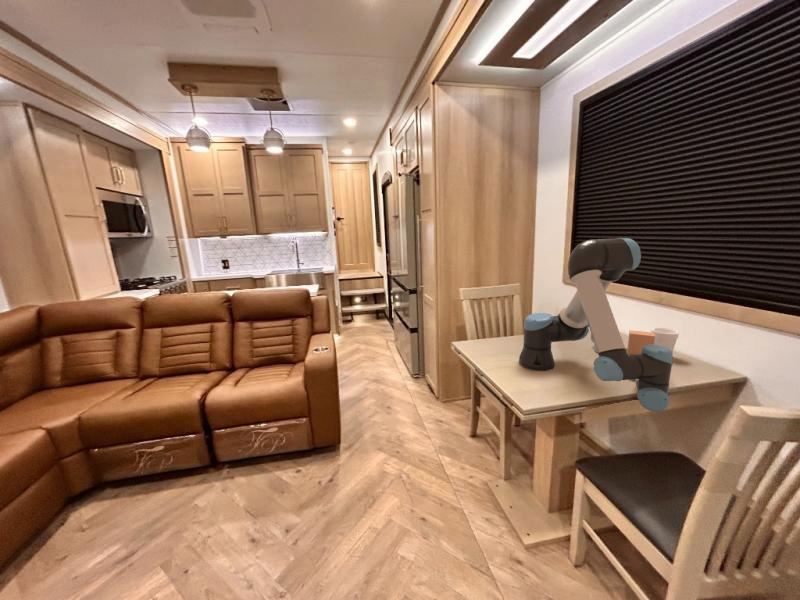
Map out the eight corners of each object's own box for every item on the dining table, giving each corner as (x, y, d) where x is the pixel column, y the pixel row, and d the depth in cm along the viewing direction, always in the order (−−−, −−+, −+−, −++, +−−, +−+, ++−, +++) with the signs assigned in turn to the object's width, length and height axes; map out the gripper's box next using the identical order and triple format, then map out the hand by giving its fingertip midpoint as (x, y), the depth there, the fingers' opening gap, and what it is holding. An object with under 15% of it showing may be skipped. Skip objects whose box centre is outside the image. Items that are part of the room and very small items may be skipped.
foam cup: (669, 363, 141) (673, 335, 138) (645, 357, 148) (648, 330, 145) (677, 357, 146) (681, 330, 143) (653, 352, 153) (656, 326, 150)
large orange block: (650, 373, 127) (655, 336, 124) (626, 369, 132) (630, 334, 128) (648, 368, 132) (653, 332, 129) (625, 364, 137) (629, 329, 133)
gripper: (624, 386, 113) (622, 362, 132) (672, 395, 106) (662, 368, 125) (626, 367, 111) (624, 345, 130) (675, 374, 104) (665, 350, 123)
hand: (643, 356), depth 128 cm, fingers closed
